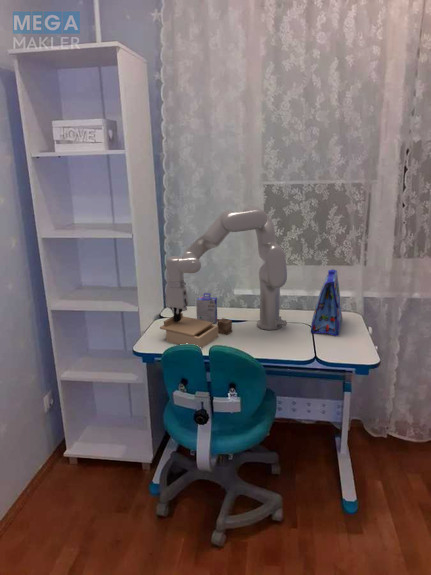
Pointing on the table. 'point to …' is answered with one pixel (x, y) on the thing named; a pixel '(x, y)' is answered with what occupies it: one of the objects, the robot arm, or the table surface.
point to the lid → (186, 325)
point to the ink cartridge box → (207, 308)
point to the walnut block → (224, 326)
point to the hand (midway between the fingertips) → (177, 320)
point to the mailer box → (194, 337)
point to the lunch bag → (328, 307)
